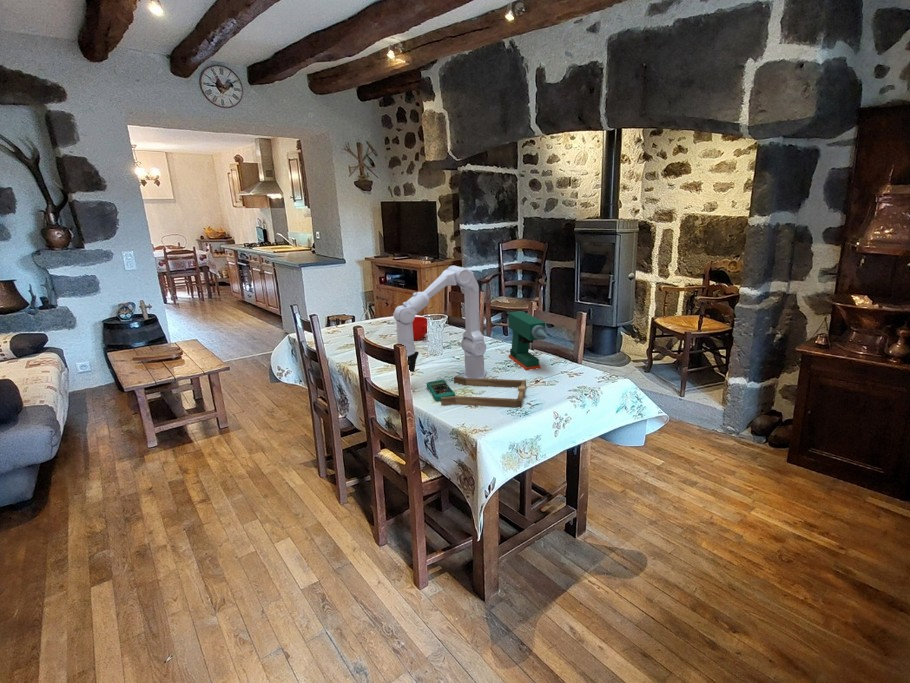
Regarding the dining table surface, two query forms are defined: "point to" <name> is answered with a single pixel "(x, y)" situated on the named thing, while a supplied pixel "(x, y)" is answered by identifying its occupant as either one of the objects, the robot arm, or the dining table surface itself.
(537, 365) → the power tool
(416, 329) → the ceramic cup
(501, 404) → the pocket
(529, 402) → the dining table surface
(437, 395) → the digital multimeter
